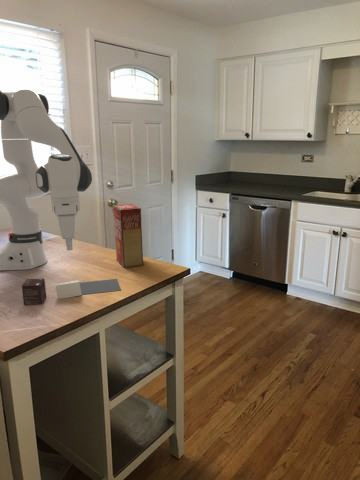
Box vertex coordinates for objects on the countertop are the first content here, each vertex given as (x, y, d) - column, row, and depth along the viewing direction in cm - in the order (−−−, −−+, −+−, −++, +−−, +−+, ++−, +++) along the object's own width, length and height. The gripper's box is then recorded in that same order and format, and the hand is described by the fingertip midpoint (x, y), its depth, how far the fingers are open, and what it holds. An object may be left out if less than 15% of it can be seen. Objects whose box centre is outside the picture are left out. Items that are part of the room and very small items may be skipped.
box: (29, 298, 133) (26, 278, 131) (46, 298, 133) (44, 278, 132) (23, 306, 127) (21, 285, 125) (42, 305, 128) (40, 284, 126)
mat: (75, 296, 135) (75, 295, 135) (74, 284, 146) (74, 283, 146) (121, 291, 139) (121, 290, 139) (117, 279, 150) (116, 278, 150)
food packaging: (115, 259, 175) (112, 204, 168) (135, 256, 178) (133, 203, 172) (123, 268, 163) (120, 209, 157) (144, 265, 167) (142, 208, 160)
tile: (57, 299, 132) (55, 285, 131) (57, 297, 134) (55, 283, 133) (81, 295, 134) (79, 281, 133) (81, 293, 136) (79, 279, 135)
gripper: (56, 201, 135) (60, 239, 139) (54, 211, 116) (59, 255, 119) (75, 200, 137) (78, 238, 140) (76, 209, 118) (80, 253, 121)
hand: (69, 246), depth 130 cm, fingers open, 8 cm apart
